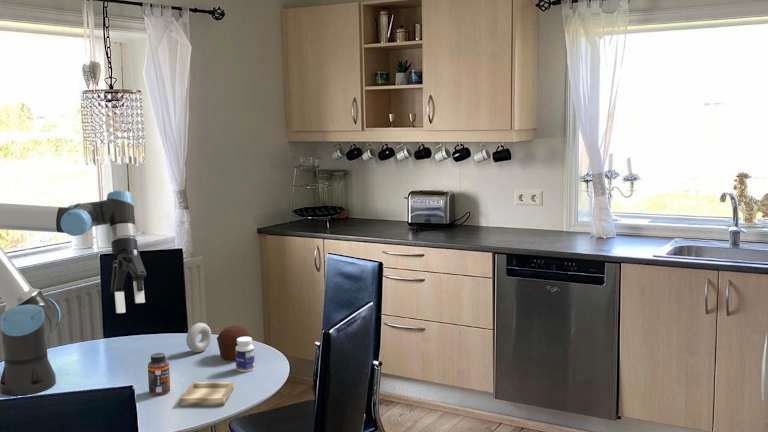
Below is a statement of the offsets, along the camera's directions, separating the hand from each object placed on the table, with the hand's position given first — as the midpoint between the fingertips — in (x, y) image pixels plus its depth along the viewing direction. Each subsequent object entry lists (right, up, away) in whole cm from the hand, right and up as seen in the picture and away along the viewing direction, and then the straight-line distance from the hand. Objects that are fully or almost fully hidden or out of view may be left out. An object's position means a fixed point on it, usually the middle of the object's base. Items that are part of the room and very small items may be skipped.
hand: (130, 308), depth 226 cm
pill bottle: (+33, -21, +10) cm, 40 cm away
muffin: (+27, -19, +22) cm, 40 cm away
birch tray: (+26, -24, -13) cm, 38 cm away
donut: (+14, -18, +27) cm, 36 cm away
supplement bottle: (+11, -24, -8) cm, 27 cm away
